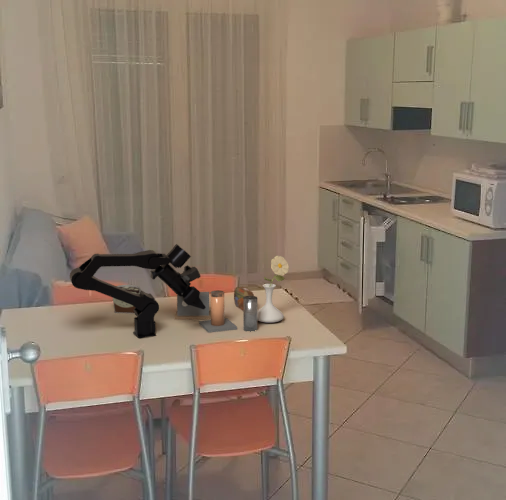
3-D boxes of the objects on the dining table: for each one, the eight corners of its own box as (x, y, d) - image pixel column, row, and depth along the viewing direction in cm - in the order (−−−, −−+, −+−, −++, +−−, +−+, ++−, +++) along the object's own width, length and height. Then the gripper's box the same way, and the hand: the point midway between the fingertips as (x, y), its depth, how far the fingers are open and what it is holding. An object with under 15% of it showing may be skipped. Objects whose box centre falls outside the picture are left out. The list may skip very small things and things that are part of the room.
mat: (208, 332, 247) (208, 330, 247) (199, 323, 257) (199, 321, 257) (237, 329, 251) (237, 326, 251) (227, 320, 261) (227, 318, 261)
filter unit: (174, 319, 262) (174, 296, 260) (176, 313, 270) (175, 290, 268) (211, 319, 262) (211, 296, 260) (211, 313, 270) (211, 290, 268)
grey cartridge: (247, 332, 248) (247, 300, 245) (241, 328, 252) (241, 296, 249) (259, 330, 250) (259, 298, 247) (253, 326, 254) (253, 295, 252)
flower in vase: (258, 326, 254) (259, 260, 249) (250, 317, 265) (250, 253, 260) (292, 323, 258) (293, 258, 253) (282, 314, 269) (283, 251, 263)
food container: (145, 309, 275) (145, 284, 273) (141, 313, 269) (141, 288, 267) (115, 308, 276) (114, 283, 274) (110, 312, 270) (110, 287, 268)
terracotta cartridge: (217, 326, 250) (217, 294, 248) (208, 323, 254) (207, 292, 251) (227, 323, 254) (227, 292, 251) (217, 320, 257) (217, 289, 255)
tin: (233, 304, 282) (233, 284, 280) (240, 303, 283) (240, 283, 282) (248, 314, 269) (248, 293, 267) (255, 313, 270) (256, 292, 268)
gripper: (194, 266, 236) (224, 295, 242) (179, 255, 253) (208, 282, 259) (171, 290, 235) (202, 318, 241) (158, 277, 252) (188, 304, 258)
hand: (200, 304), depth 250 cm, fingers open, 9 cm apart
